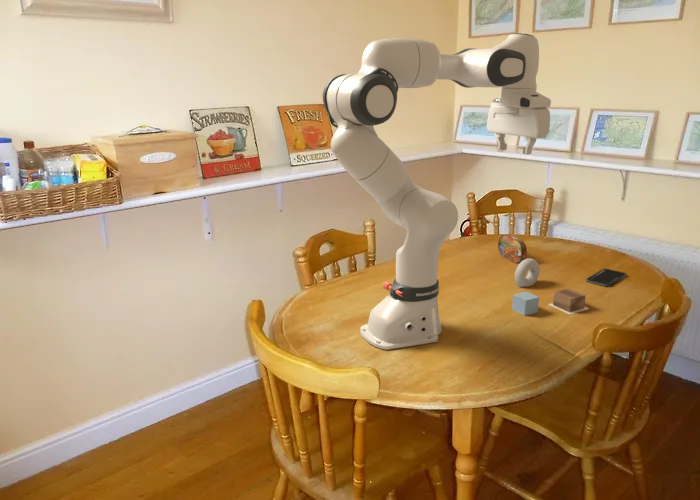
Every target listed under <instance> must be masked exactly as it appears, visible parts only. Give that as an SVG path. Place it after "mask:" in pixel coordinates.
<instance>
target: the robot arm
mask: <svg viewBox="0 0 700 500" xmlns="http://www.w3.org/2000/svg"><path fill="white" fill-rule="evenodd" d="M539 63H540V45H539V41H538V38H537V37H535V35H532V34H528V33H521V32H520V33H519V32H518V33H516V32H515V33H511V34H508V35H507V37H506V39H504V41H502V42H500V43H499V44H497V45H494V46H493V47H485V48H464V49H463V50H460V51H459V52H456V53H454V54H450V53H441V52H440V50H439V48H438V46H437V45H436V44H435V43H434V42H430V41H428V40H427V41H426V40H423V39H419V38H412V37H411V38H409V37H408V38H405V37H392V38H383V39H377V40H373V41H371V42H370V43H368V44H367V45H366V46H365V49H364V50H363V53H362V56H361V68H360V69H359V71H357V73H349V74H348V73H347V74H346V73H343V74H338V75H337V76H335V77H333V78H331V79H330V80H329V81H328V82H327V83H326V85H325V86H324V87H323V91H322V102H323V106H324V109H325V111H326V113H327V114H328V119H329V122H330V124H331V126H333V127H334V128H336V130H335V132H334V133H333V134H332V137H331V140H330V149H331V152H332V153H333V155H334V157H335V158H336V159H337V161H338V162H339V163H340V165H341V166H342V167H343V169H344V170H345V171H346V172H347V173H348V174H349V175H350V176H351V177H352V178H353V179H354V180H355V181H356V183H358V184H359V185H360V186H361V187H362V188H363V189H364V190H365V191H366V192H367V193H368V194H369V195H370V196H372V198H373V199H374V200H375V202H376V203H377V204H378V205H379V207H380V209H381V211H382V213H383V215H385V216H386V218H387V219H389V220H390V221H391V222H392V223H394V224H396V225H397V226H400V227H402V228H405V230H406V231H405V232H406V236H405V240H404V243H403V245H402V246H400V247H399V248H398V249H397V251H396V253H395V278H394V279H393V282H392V283H390V282H388V281H384V282H383V283H382V285H381V286H382V288H383V289H385V290H386V291H389V294H387V295H386V296H385V297H384V298H383V299H382V300H381V301H380V302H378V304H376V306H375V307H373V308H372V309H371V310H370V312H369V316H368V322H367V323H365V324H363V325H361V326H360V328H359V333H360V335H361V336H362V337H361V338H363V339H364V340H365V341H366V342H367V343H369V344H370V345H372V346H374V347H375V348H378V349H382V350H386V351H387V350H393V349H400V348H406V347H413V346H419V345H425V344H431V343H432V344H433V343H436V342H438V341H439V335H440V334H441V333H442V330H443V327H442V324H441V319H440V315H439V314H440V313H439V308H438V306H439V304H438V296H439V292H440V289H439V288H440V286H439V285H440V284H439V283H440V282H439V279H438V269H439V255H440V251H441V248H442V245H443V242H444V240H445V238H446V237H448V236H449V235H451V234H452V232H453V231H454V230H455V228H456V226H457V224H458V221H459V211H458V208H457V206H456V204H455V203H454V202H452V201H451V200H450V199H448V197H445V196H444V195H443V194H441V193H438V192H435V191H431V190H428V189H425V188H423V187H421V186H419V185H417V184H416V183H415V182H414V181H413V180H412V179H411V177H410V176H409V174H408V173H409V171H408V167H407V165H406V164H405V163H404V162H403V161H402V160H401V159H400V157H398V155H396V154H395V152H394V151H393V150H392V149H391V148H390V147H389V146H388V145H387V144H386V143H385V142H384V141H383V140H382V139H381V138H380V137H379V136H378V134H377V131H376V130H375V127H374V126H379V125H381V124H384V123H386V122H387V121H388V120H389V119H391V118H392V116H393V114H394V113H395V110H396V107H397V103H398V91H399V89H420V88H424V87H429V86H430V87H431V86H432V85H433V84H434V83H435V82H436V81H437V80H450V81H452V82H454V83H456V84H457V85H459V86H460V87H462V88H465V89H467V88H469V89H470V88H501V91H500V92H501V93H500V94H501V96H500V98H499V97H498V98H494V100H492V101H491V103H490V107H489V110H488V115H487V122H486V129H487V132H488V133H494V134H495V139H496V141H497V143H498V145H497V146H498V150H500V151H507V149H508V148H507V147H508V143H506V141H505V138H506V135H508V136H509V135H510V136H517V137H524V138H526V139H525V140H526V142H527V143H526V144H525V146H523V147H522V155H532V151H533V147H534V146H535V144H536V142H537V139H545V138H547V136H548V135H549V133H550V126H551V113H550V112H551V111H550V110H549V108H550V107H551V104H552V103H551V102H552V100H551V98H549V97H547V96H545V95H543V94H541V93H540V92H537V89H538V88H537V87H538V85H537V75H538V72H539V66H540V65H539Z"/></svg>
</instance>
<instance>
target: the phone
mask: <svg viewBox="0 0 700 500" xmlns="http://www.w3.org/2000/svg"><path fill="white" fill-rule="evenodd" d="M627 274H628V273H626V272H624V271H618V270H613V269H609V268H602V269H601V270H599V271H597V272H595V273H594V274H592V275H591V276H589V277H587V278H586V280H585V281H586V282H587V283H589V284H593V285H595V286H596V285H597V286H600V287H603V288H604V287H605V288H611V287H613V286H614V285H615V284H617V283H619V282H620V281H622V280H623V279H624V278H627V276H628V275H627Z"/></svg>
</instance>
